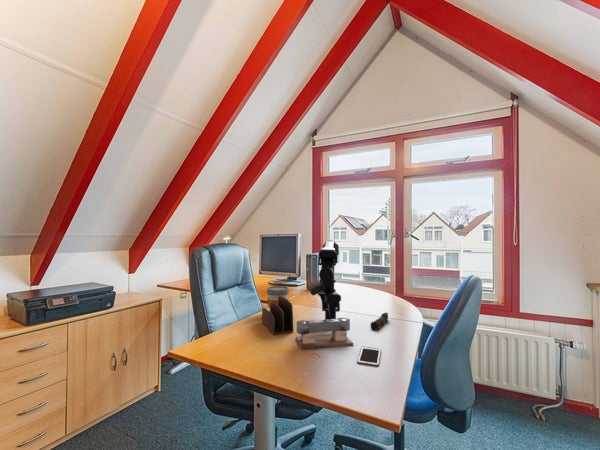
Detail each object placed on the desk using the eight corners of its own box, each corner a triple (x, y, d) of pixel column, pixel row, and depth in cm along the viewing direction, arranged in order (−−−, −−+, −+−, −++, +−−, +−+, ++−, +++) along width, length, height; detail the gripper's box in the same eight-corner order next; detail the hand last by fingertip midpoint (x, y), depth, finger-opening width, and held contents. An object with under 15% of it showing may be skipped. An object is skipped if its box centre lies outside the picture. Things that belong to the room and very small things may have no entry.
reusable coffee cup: (262, 315, 159) (262, 288, 160) (275, 310, 170) (275, 285, 170) (280, 319, 153) (280, 291, 153) (293, 313, 163) (293, 287, 164)
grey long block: (346, 326, 128) (346, 317, 128) (351, 330, 122) (351, 321, 122) (295, 330, 123) (295, 320, 123) (298, 334, 117) (298, 325, 117)
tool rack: (295, 338, 126) (295, 327, 126) (342, 335, 131) (342, 324, 131) (301, 350, 114) (301, 337, 114) (353, 345, 119) (353, 333, 119)
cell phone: (381, 351, 114) (381, 348, 114) (378, 368, 100) (378, 365, 100) (361, 348, 117) (361, 346, 117) (356, 364, 103) (356, 361, 103)
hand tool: (378, 331, 136) (378, 321, 136) (370, 329, 139) (370, 319, 139) (392, 321, 151) (392, 312, 151) (385, 319, 154) (385, 311, 154)
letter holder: (279, 320, 152) (279, 293, 152) (293, 332, 134) (293, 302, 134) (261, 322, 148) (261, 295, 148) (273, 335, 130) (273, 304, 130)
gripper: (305, 274, 134) (305, 307, 134) (315, 282, 115) (315, 320, 116) (327, 273, 136) (327, 306, 136) (341, 281, 118) (341, 318, 118)
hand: (327, 312), depth 126 cm, fingers open, 9 cm apart
